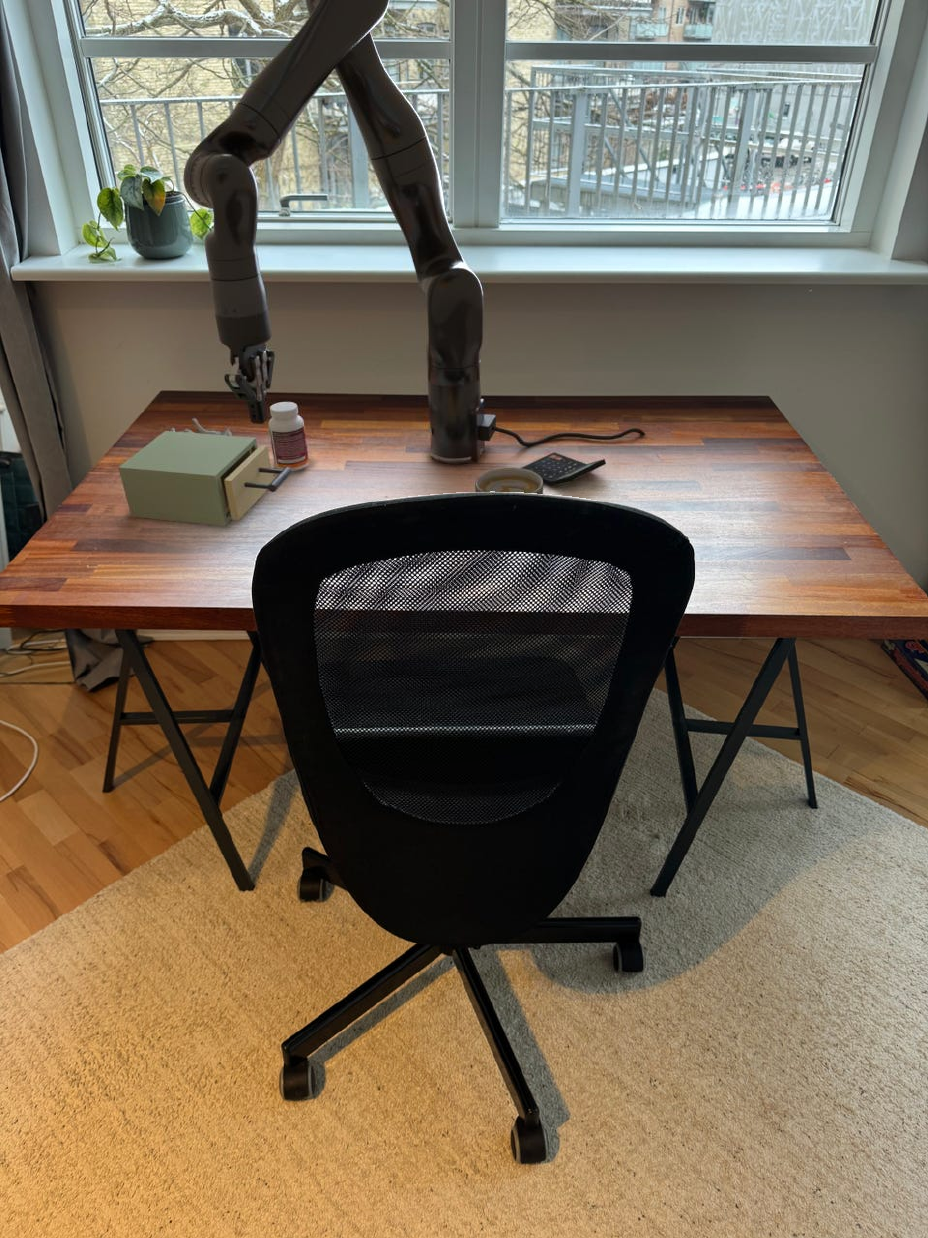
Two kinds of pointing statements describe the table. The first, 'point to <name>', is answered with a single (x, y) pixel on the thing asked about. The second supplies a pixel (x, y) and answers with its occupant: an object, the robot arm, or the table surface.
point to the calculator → (561, 468)
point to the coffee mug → (509, 481)
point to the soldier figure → (227, 432)
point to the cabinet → (182, 476)
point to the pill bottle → (288, 437)
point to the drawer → (249, 481)
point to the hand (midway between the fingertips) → (259, 421)
